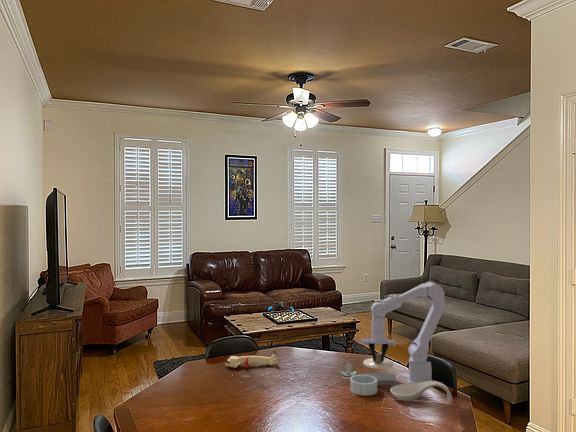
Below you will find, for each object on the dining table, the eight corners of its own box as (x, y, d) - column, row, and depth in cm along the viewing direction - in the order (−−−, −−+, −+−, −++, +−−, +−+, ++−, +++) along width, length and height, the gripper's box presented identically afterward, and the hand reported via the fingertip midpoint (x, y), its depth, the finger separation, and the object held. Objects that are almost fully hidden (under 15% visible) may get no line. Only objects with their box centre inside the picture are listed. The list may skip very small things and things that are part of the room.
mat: (394, 375, 213) (394, 374, 213) (398, 386, 199) (398, 385, 199) (363, 373, 215) (363, 372, 215) (365, 385, 201) (365, 383, 201)
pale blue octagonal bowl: (376, 386, 199) (376, 375, 199) (378, 397, 188) (378, 384, 188) (350, 385, 200) (350, 374, 200) (350, 395, 189) (350, 383, 189)
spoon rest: (392, 404, 181) (392, 386, 181) (388, 392, 193) (388, 375, 193) (455, 406, 179) (455, 388, 179) (447, 394, 191) (447, 377, 190)
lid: (391, 360, 211) (392, 350, 211) (394, 369, 198) (394, 360, 198) (362, 358, 212) (362, 349, 212) (363, 368, 199) (363, 358, 199)
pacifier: (357, 380, 207) (356, 375, 213) (357, 366, 207) (356, 361, 213) (340, 379, 208) (340, 374, 214) (340, 366, 207) (340, 361, 213)
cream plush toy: (275, 364, 233) (224, 362, 229) (276, 347, 233) (226, 344, 229) (277, 371, 223) (225, 369, 219) (279, 352, 223) (226, 350, 219)
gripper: (394, 328, 208) (394, 358, 208) (361, 327, 210) (361, 357, 210) (395, 332, 201) (395, 363, 201) (361, 331, 203) (361, 362, 203)
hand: (378, 361), depth 205 cm, fingers closed on lid, 3 cm apart
